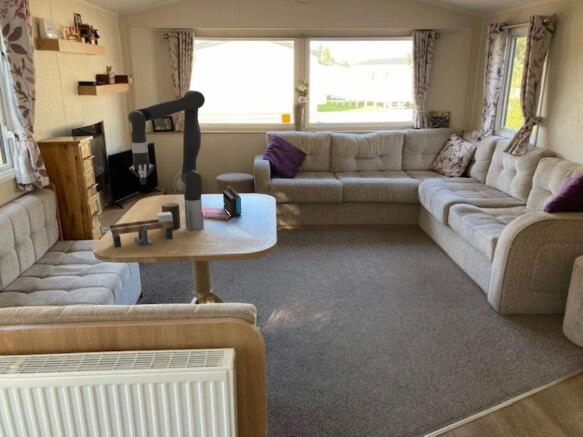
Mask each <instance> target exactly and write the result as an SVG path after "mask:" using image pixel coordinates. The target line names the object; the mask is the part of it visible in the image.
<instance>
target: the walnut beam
mask: <svg viewBox="0 0 583 437" xmlns="http://www.w3.org/2000/svg"><path fill="white" fill-rule="evenodd" d="M141 227H147V231H153V230H160V229H163V228H169V227H173V221H171V222H163V223H157V218H154V219H146V220H137V221H131V222H122V223H115V224H109V230H110V233H111V235H112V234H113V235H117V234H119V235H123V234H130V233H138V232H140V231H142V228H141Z"/></svg>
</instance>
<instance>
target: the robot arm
mask: <svg viewBox="0 0 583 437" xmlns="http://www.w3.org/2000/svg"><path fill="white" fill-rule="evenodd" d="M205 100H206V98H205V95H204V94H203V93H202V92H201V91H199V90H194V89H193V90H187V91H186V92H185V93H184V95H183V97H180V98H177V99H173V100H169V101H164V102H160V103H156V104H152V105H150V106H147V107H144V108H139V109H135V110H131V112H130V113H128V115H127V119H128V121H129V123H130V124H131V128H132V129H131V130H132V131H131V134H130V136H131V137H130V138H131V150H132V151H131V152H132V158H133V159H132V160H133V161H132V165H131V167H129V171H131V172H132V173H133V175H135V176H136V177H137V178H139V182H140V184H141V185H146V184H147V177H148V176H150V175H151V173H152V172H153V170H154V169H155V166H154V165H153V164H151V162H150V158H149V149H148V148H149V147H148V141H147V136H146V135H147V133H146V131H147V130H146V128H147V127H146V126H147V125H146V124H147V122H149V121H155V120H159V119H162V118H164V117H167V116H168V117H169V116H171V115H174V114H176V113H180V112H183V113H184V121H183V140H182V141H183V142H182V145H183V146H182V147H183V149H182V150H183V151H182V153H183V154H182V155H183V156H182V168H181V175H180V176H181V181H182V183H183V184H184V185H185V192H184V195H183V199H184V202H183V204H184V215H185V230H187V231H194V232H195V231H200V230H202V229H205V224H204V220H205V219H204V212H203V209H202V207H203V206H202V195H203V194H202V193H203V179H202V175H201V174H200V172H198V171H197V158H198V157H199V156H198V155H199V153H200V150H201V144H202V143H201V142H202V133H201V126H200V123H199V109H201V108H202V107H204V104H205V102H206V101H205ZM148 168H149V169H148ZM135 170H137V172H136V171H135Z"/></svg>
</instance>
